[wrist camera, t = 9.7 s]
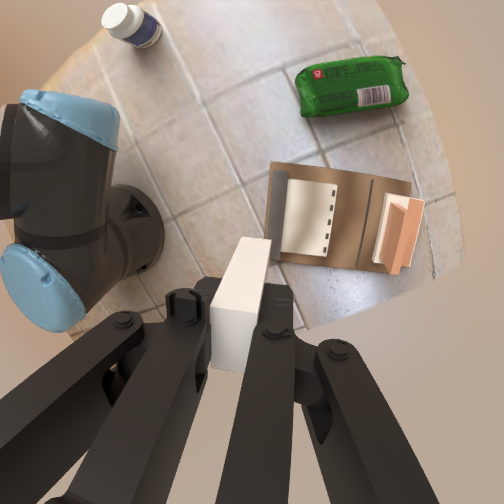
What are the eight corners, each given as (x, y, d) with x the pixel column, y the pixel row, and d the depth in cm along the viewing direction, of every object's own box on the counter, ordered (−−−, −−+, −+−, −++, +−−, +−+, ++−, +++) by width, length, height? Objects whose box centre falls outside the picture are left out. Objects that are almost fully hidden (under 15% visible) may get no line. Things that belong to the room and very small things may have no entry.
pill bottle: (167, 20, 32) (138, -3, 23) (155, 50, 34) (122, 33, 25) (138, 18, 31) (106, -1, 22) (127, 47, 34) (91, 33, 25)
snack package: (407, 106, 33) (422, 103, 28) (302, 123, 36) (304, 120, 31) (393, 60, 31) (407, 51, 26) (288, 75, 34) (288, 65, 29)
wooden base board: (262, 256, 44) (260, 264, 41) (271, 161, 38) (269, 163, 36) (389, 270, 42) (395, 279, 39) (408, 182, 37) (416, 185, 34)
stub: (371, 259, 41) (384, 280, 34) (385, 192, 37) (402, 203, 31) (406, 263, 40) (423, 284, 34) (421, 199, 36) (442, 211, 30)
